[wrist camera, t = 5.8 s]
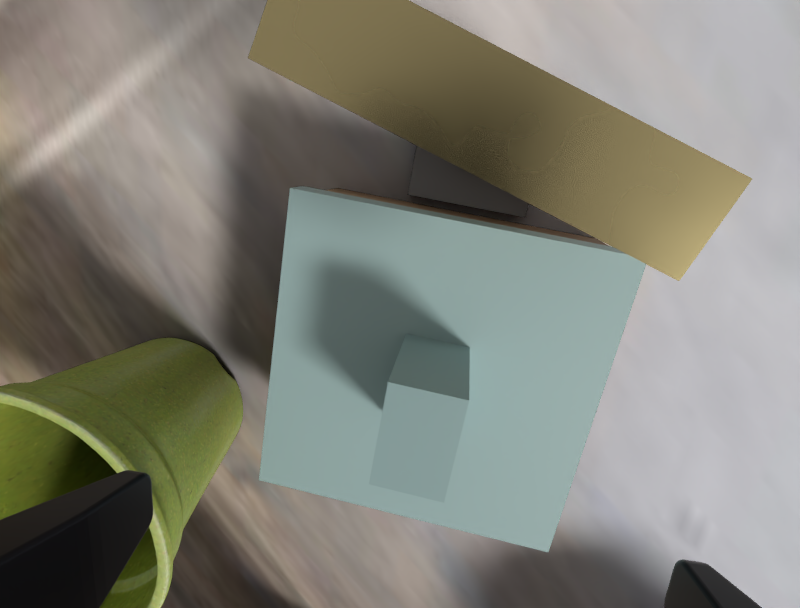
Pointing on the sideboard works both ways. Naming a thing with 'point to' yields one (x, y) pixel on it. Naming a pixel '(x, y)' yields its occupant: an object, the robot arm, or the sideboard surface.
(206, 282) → the sideboard surface
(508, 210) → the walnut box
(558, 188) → the key
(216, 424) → the plant pot
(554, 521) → the lid
